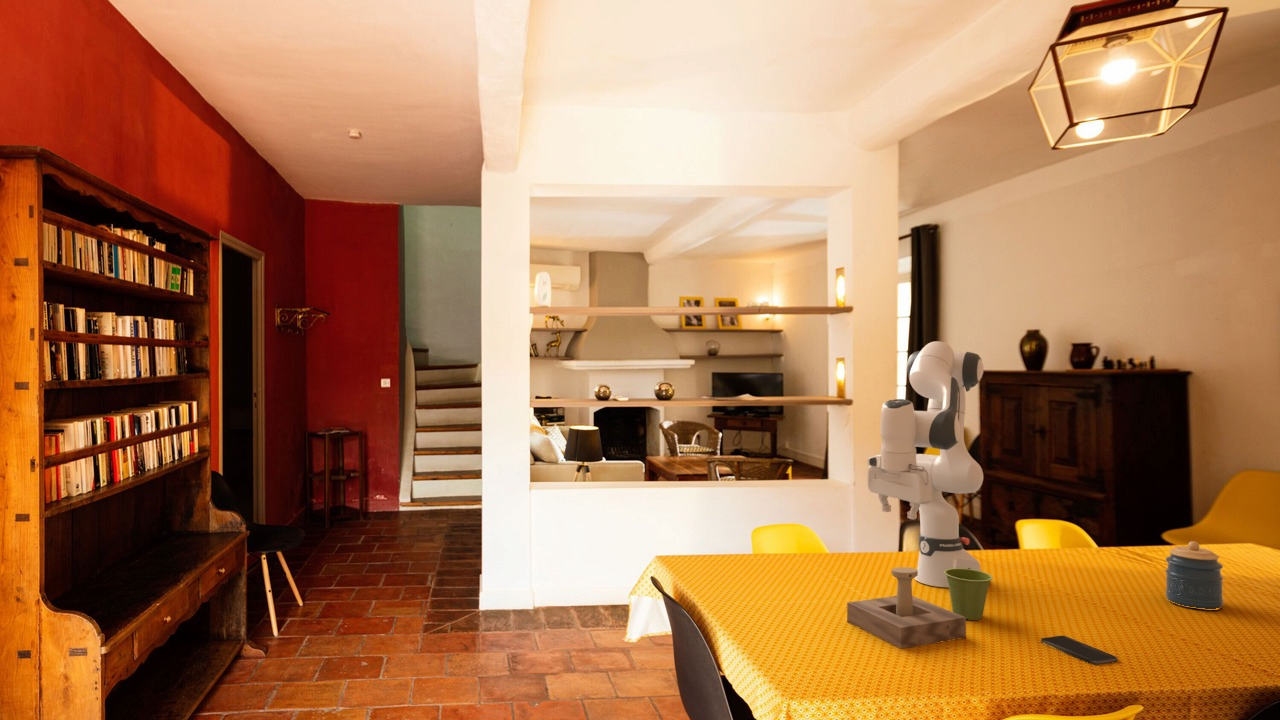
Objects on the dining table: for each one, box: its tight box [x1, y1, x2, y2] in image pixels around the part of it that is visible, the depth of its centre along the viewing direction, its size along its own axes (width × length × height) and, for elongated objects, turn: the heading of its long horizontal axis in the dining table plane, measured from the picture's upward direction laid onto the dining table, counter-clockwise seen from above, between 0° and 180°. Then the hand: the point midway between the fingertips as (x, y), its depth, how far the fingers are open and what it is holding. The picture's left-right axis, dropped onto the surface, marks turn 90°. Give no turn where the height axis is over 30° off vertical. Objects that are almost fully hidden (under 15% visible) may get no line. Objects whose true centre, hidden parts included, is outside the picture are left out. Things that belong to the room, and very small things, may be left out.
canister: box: [1165, 540, 1224, 609], centre depth 209 cm, size 13×13×18 cm
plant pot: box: [944, 568, 993, 621], centre depth 198 cm, size 12×12×11 cm
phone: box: [1040, 635, 1118, 666], centre depth 173 cm, size 8×1×15 cm
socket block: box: [846, 595, 967, 650], centre depth 187 cm, size 20×20×5 cm
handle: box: [891, 566, 918, 617], centre depth 187 cm, size 5×6×15 cm
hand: (898, 515), depth 193 cm, fingers open, 8 cm apart
